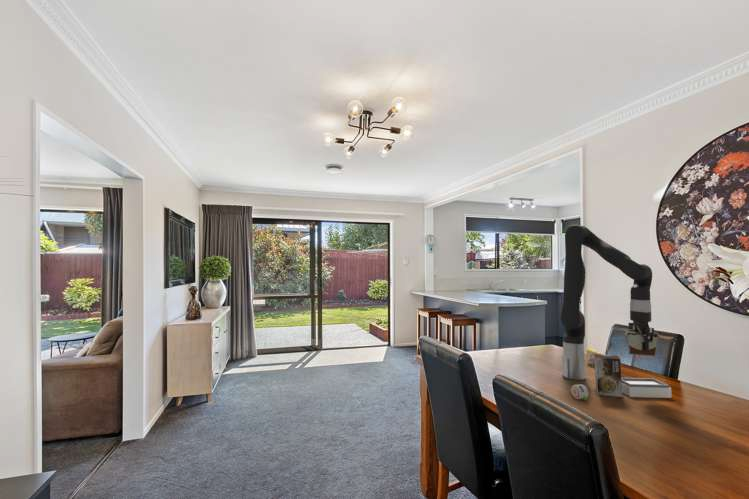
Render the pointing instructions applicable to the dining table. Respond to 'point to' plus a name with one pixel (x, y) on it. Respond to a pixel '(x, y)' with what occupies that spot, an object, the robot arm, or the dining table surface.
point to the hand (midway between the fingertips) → (640, 348)
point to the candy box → (592, 356)
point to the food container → (636, 344)
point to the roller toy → (579, 392)
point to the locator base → (645, 388)
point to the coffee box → (608, 375)
